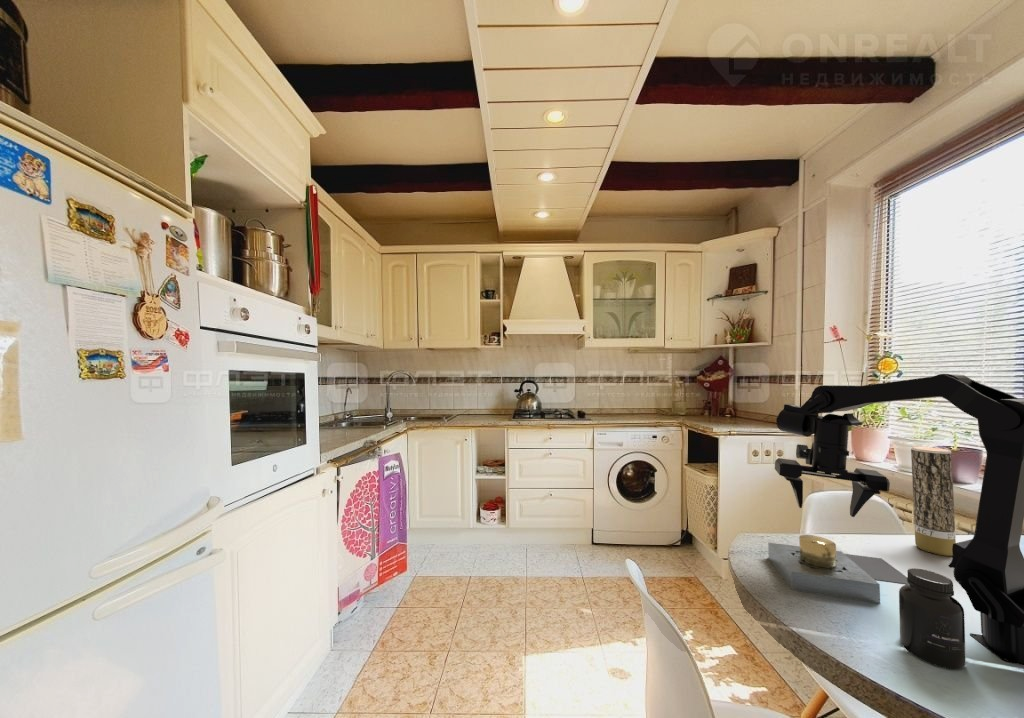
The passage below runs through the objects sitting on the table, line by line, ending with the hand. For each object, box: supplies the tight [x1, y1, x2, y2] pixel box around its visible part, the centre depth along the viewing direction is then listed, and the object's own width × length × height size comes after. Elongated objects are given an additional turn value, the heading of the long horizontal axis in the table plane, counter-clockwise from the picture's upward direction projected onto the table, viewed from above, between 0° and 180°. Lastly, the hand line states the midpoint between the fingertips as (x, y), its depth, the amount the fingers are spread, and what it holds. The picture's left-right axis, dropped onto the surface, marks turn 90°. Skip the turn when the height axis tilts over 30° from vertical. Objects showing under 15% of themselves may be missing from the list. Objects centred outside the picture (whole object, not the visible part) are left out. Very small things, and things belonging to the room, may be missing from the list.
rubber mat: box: [844, 553, 909, 585], centre depth 84 cm, size 12×10×1 cm
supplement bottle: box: [898, 567, 966, 671], centre depth 59 cm, size 7×7×12 cm
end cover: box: [798, 534, 837, 568], centre depth 80 cm, size 6×6×8 cm
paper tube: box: [910, 446, 957, 557], centre depth 94 cm, size 7×7×25 cm
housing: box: [767, 542, 881, 605], centre depth 80 cm, size 14×14×4 cm
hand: (825, 511), depth 83 cm, fingers open, 9 cm apart
